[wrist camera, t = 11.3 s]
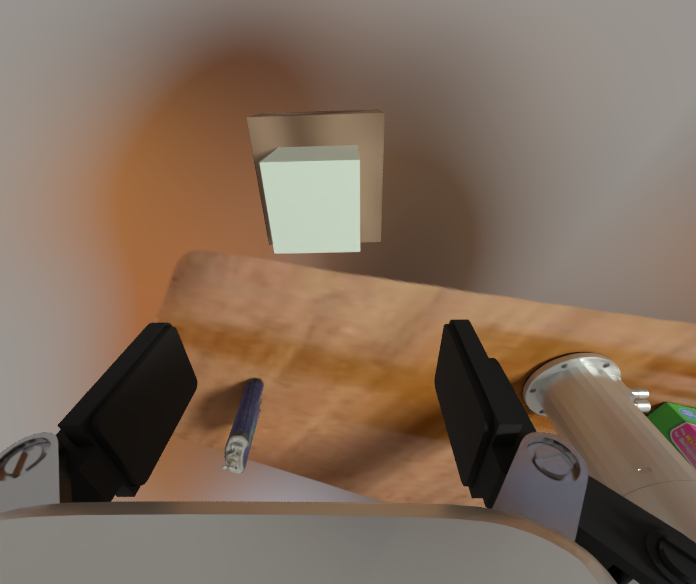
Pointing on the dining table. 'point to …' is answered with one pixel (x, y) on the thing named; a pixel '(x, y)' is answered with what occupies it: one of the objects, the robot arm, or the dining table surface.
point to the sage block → (313, 198)
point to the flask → (243, 427)
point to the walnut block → (328, 131)
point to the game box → (677, 428)
